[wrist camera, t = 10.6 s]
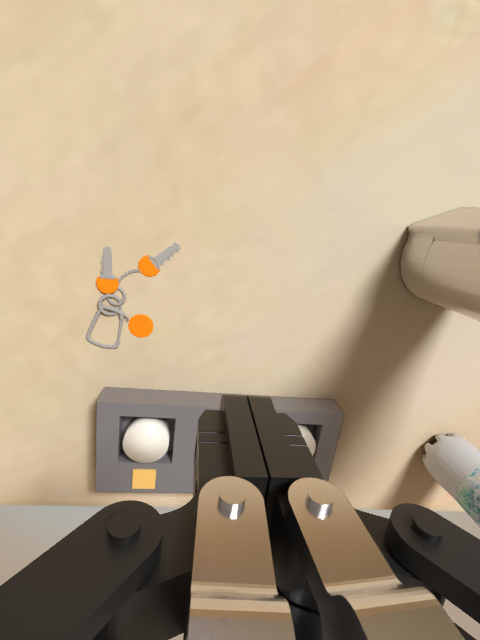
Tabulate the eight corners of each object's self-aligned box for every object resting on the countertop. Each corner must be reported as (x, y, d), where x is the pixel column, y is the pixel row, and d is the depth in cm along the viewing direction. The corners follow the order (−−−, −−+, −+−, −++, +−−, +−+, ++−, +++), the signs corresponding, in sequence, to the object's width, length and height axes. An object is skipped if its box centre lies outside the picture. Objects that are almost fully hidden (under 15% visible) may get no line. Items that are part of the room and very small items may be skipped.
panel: (102, 472, 40) (95, 493, 37) (104, 387, 37) (96, 402, 34) (316, 476, 44) (325, 495, 41) (334, 399, 41) (345, 414, 38)
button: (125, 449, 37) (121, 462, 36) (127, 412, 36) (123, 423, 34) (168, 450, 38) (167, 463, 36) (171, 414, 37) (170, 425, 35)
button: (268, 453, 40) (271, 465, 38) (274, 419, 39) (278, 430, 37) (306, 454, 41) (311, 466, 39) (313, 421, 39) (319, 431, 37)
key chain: (146, 359, 37) (145, 362, 36) (75, 337, 35) (73, 340, 34) (186, 246, 34) (186, 246, 33) (111, 216, 32) (109, 217, 31)
